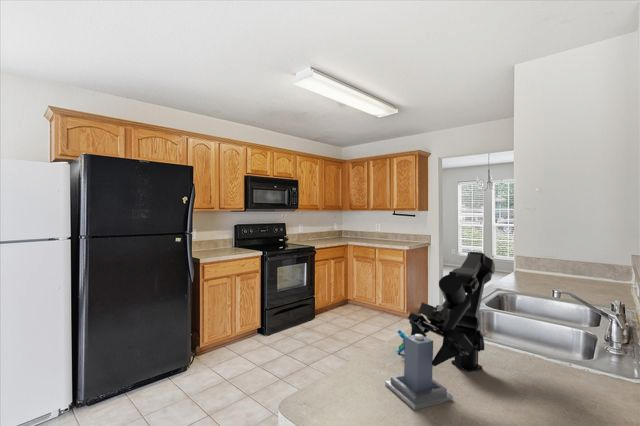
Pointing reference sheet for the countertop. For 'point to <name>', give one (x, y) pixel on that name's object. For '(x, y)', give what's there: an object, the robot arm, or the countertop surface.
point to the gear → (402, 343)
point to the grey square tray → (419, 399)
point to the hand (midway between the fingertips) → (420, 357)
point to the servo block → (418, 363)
